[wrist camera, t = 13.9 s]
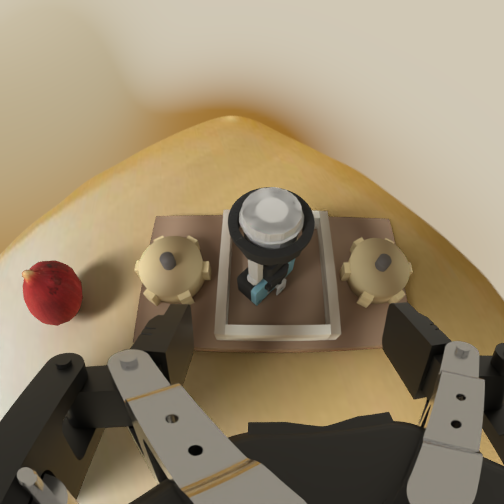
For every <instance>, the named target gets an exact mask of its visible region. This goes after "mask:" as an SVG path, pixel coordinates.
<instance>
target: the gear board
mask: <svg viewBox="0 0 504 504" xmlns="http://www.w3.org/2000/svg"><path fill="white" fill-rule="evenodd" d="M229 212H230V210H224V213H223V215H206V216H156V219H155V223H154V228H153V232H152V237H151V241H150V246H148V248H147V249H146V250H145V251H144V253H143V254H142V256H141V258H140V260H136V265H135V269H134V271H135V272H136V273H137V275H138V276H139V278H140V279H141V281H142V287H141V293H140V299H139V305H138V311H137V318H136V325H135V332H134V339H133V343H135V341H136V339H137V338H138V336H139V335H140V334H141V332H142V330H143V329H144V328H145V326H146V324H147V323H148V321H149V320H151V319H152V318H154V317H155V316H157V315H164V314H165V312H166V311H167V309H168V307H169V306H170V304H190V307H191V314H192V326H193V337H194V350H199V351H220V352H263V353H282V352H325V351H345V350H361V349H375V348H383V347H382V336H383V331H384V326H385V321H386V315H387V310H388V307H389V305H390V304H391V303H402V302H407V297H406V291H405V286H406V284H407V282H408V279H409V276H410V275H411V274H412V273H413V270H412V266H411V262H408V261H407V258H406V256H405V255H404V253H403V252H402V251H401V250H400V248H398V247H397V246H396V244H395V240H394V236H393V232H392V228H391V224H390V220H389V219H379V218H353V217H328V212H327V211H312V213H313V216H314V221H315V227H314V232H313V236H312V238H311V240H310V242H309V244H308V245H307V246H306V247H305V248H304V249H303V250H302V251H301V253H300V255H299V256H298V257H297V258H295V261H294V266H293V270H292V271H291V272H290V273H289V274H288V275H287V276H286V277H285V279H286V280H287V281H286V286H285V288H284V289H283V290H282V291H281V292H280V293H279V294H278V295H276V292H277V288H274V289H273V290H272V291H271V292H270V293H269V294H268V295H267V296H266V297H265V298H264V299H263V300H262V302H261V303H259V304H258V305H257V306H256V305H255V304H254V303H253V302H251V301H250V300H249V299H248V298H247V297H246V296H245V295H244V294H243V293H241V292H240V291H239V290H238V284H237V277H238V276H239V275H240V274H241V273H242V272H243V271H244V270H245V269H246V268H247V267H248V259H247V258H246V257H245V255H244V254H243V253H242V251H241V250H240V249H239V248H238V247H237V246H236V245H235V243H234V242H233V240H232V238H231V236H230V233H229V229H228V215H229ZM239 231H240V232H241V234H242V235H243V237H244V231H243V229H242V227H241V225H240V228H239ZM301 235H302V229H301V230H300V232H299V234H298V239H299V238H300V236H301ZM298 239H297V240H298ZM281 289H282V288H281ZM281 289H280V290H281Z"/></svg>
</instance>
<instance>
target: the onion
mask: <svg viewBox="0 0 504 504" xmlns="http://www.w3.org/2000/svg"><path fill="white" fill-rule="evenodd" d="M22 277H24V283H23V295H24V300H25V303H26V305H27V307H28V309H29V310H30V312H31V314H32V315H33V316H34V317H36V318H37V319H38V320H40V321H41V322H42V323H45V324H50V325H60V324H62V323H65V322H68V321H70V320H71V319H72V318H73V317H74V316H76V314H77V312H78V311H79V309H80V307H81V303H82V298H83V296H82V286H81V281H80V280H79V278H78V277H77V275H76V274H75V272H74V271H73V269H72V268H71V267H69V266H68V265H66V264H63V263H61V262H58V261H42V262H38V263H36V264H35V265H34V266H32V267H31V268H30V270H25V271H23V272H22Z"/></svg>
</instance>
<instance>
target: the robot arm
mask: <svg viewBox="0 0 504 504" xmlns="http://www.w3.org/2000/svg"><path fill="white" fill-rule="evenodd" d="M382 347H383V350H384V352H385V354H386V355H387V357H388V358H389V360H390V362H391V363H392V365H393V366H394V368H395V369H396V371H397V373H398V374H399V376H400V378H401V379H402V381H403V382H404V384H405V386H406V387H407V389H408V391H409V392H410V394H411V396H412V397H413V399H419V398H424V397H427V400H426V402H425V405H424V407H423V410H422V413H421V416H420V419H419V422H418V425H414V424H411V423H406V422H398V421H393V419H392V417H391V415H390V413H389V412H386V413H380V414H373V415H366V416H358V417H355V418H352V419H348V420H345V421H342V422H339V423H335V424H332V425H329V426H323V427H322V426H311V425H303V424H295V423H288V422H248V433H242V434H238V435H234V436H231V437H228V438H227V437H226V436H225V435H224V434H223V433H222V431H221V430H220V429H219V428H218V427H217V426H216V425H215V424H214V423H213V422H212V421H211V419H210V418H209V417H208V416H207V415H206V414H205V413H204V412H203V410H202V409H201V408H200V407H199V406H198V405H197V403H196V402H195V401H194V400H193V399H192V398H191V396H190V395H189V394H188V393H187V392H186V390H185V389H184V388H183V387H182V386H183V383H184V380H185V377H186V374H187V370H188V367H189V364H190V361H191V358H192V355H193V350H194V337H193V326H192V314H191V307H190V304H170V306H169V307H168V309H167V311H166V312H165V314H164V315H157V316H155V317H154V318H152V319H151V320H149V321H148V323H147V324H146V326H145V328H144V329H143V330H142V332H141V334H140V335H139V336H138V338H137V339H136V341H135V343H134V344H133V346H132V347H131V349H130V350H123V351H120V352H117V353H115V354H114V355H112V356H111V357H110V358H109V360H108V365H106V366H92V367H86V366H85V363H84V360H83V358H82V357H81V356H80V355H78V354H74V353H64V354H59V355H57V356H54V357H53V358H51V359H50V360H49V361H48V362H47V363H46V364H45V365H44V366H43V368H42V369H41V370H40V371H39V373H38V374H37V375H36V376H35V377H34V379H33V380H32V381H31V382H30V384H29V385H28V386H27V387H26V389H25V390H24V391H23V392H22V394H21V395H20V396H19V398H18V399H17V400H16V401H15V403H14V404H13V405H12V407H11V408H10V409H9V411H8V412H7V413H6V415H5V416H4V417H3V419H2V420H1V421H0V504H79V503H78V502H77V501H76V499H77V497H78V494H79V491H80V489H81V486H82V483H83V481H84V478H85V476H86V473H87V471H88V468H89V466H90V463H91V461H92V458H93V456H94V453H95V451H96V448H97V446H98V443H99V441H100V439H101V436H102V434H103V432H104V429H105V428H109V427H126V426H127V428H128V430H129V432H130V434H131V436H132V438H133V440H134V442H135V444H136V445H137V447H138V449H139V451H140V453H141V455H142V456H143V458H144V460H145V462H146V464H147V465H148V467H149V469H150V471H151V473H152V475H153V477H154V479H155V481H156V483H157V486H155V487H154V488H152V489H151V490H149V491H148V492H146V493H145V494H143V495H142V496H140V497H138V498H137V499H135V500H134V501H132V502H131V503H129V504H504V466H502V465H500V464H498V463H496V462H493V461H491V460H489V459H487V458H484V457H483V455H482V453H481V452H480V451H479V448H480V440H481V432H482V429H483V430H484V432H485V434H486V435H487V437H488V438H489V440H490V442H491V443H492V445H493V447H494V448H495V450H496V452H497V454H498V455H499V457H500V459H501V460H502V462H503V464H504V343H501V344H498V345H497V346H496V348H495V351H494V353H493V356H479V351H478V350H477V349H476V348H475V347H474V346H473V345H471V344H469V343H466V342H461V341H453V342H452V341H451V340H450V339H449V338H448V337H447V336H446V335H445V334H444V333H443V332H442V331H441V330H439V328H438V327H437V326H436V325H434V323H433V322H432V321H431V320H430V319H429V318H428V317H426V316H424V315H422V314H420V313H418V312H417V311H416V310H415V309H414V308H413V307H412V306H411V305H410V304H409V303H408V302H402V303H391V304H390V305H389V307H388V310H387V315H386V321H385V326H384V331H383V336H382ZM64 417H65V418H64ZM63 419H64V420H63Z"/></svg>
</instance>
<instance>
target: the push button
mask: <svg viewBox="0 0 504 504" xmlns="http://www.w3.org/2000/svg"><path fill="white" fill-rule="evenodd" d="M240 225H241V227H242V229H243V231H244V237H243V235H242V234H241V232H240V231H239V228H240ZM314 227H315V221H314V216H313V213H312V210H311V208H310V207H309V205H308V204H307V203H306V202H305V201H304V200H303V199H302V198H301V197H299V196H298V195H296V194H295V193H293V192H291V191H288V190H285V189H281V188H275V187H266V188H259V189H255V190H252V191H250V192H248V193H246V194H244V195H243V196H241V197H240V198H239V199H238V200H237V201H236V202H235V203H234V204H233V206H232V208H231V210H230V212H229V215H228V229H229V233H230V236H231V238H232V240H233V242H234V243H235V245H236V246H237V247H238V248H239V249H240V250H241V251H242V253H243V254H244V255H245V257H246V258H247V259H248V267H247V268H246V269H245V270H244V271H243V272H242V273H241V274H240V275H239V276H238V277H237V284H238V290H239V291H240V292H241V293H243V294H244V295H245V296H246V297H247V298H248V299H249V300H250V301H251V302H253V303H254V304H255V305H256V306H257V305H258V304H259V303H261V302H262V300H263V299H264V298H265V297H266V296H267V295H268V294H269V293H270V292H271V291H272V290H273V289H274V288H277V292H276V295H278V294H279V293H280V292H281V291H282V290H283V289H284V288H285V286H286V281H287V280H286V279H285V277H286V276H287V275H288V274H289V273H290V272H291V271H292V270H293V266H294V261H295V258H297V257H298V256H299V255H300V253H301V251H302V250H303V249H304V248H305V247H306V246H307V245H308V244H309V242H310V240H311V238H312V236H313V232H314ZM301 229H302V235H301V236H300V238H299V239H298V234H299V232H300V230H301ZM297 239H298V240H297ZM281 288H282V289H281ZM280 289H281V290H280Z"/></svg>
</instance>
